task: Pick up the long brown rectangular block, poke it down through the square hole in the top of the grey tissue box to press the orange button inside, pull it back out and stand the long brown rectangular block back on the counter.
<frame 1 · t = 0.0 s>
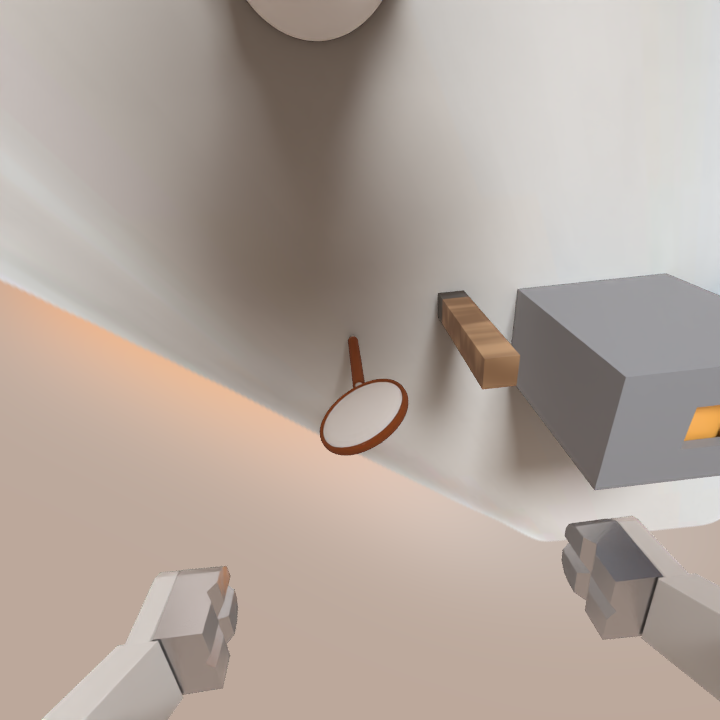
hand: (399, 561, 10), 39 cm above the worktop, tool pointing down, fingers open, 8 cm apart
button: (693, 410, 36), point 18 cm above the worktop, slide at 0.0 cm
magnifying glass: (352, 336, 50), on the worktop
long brown rectangular block: (450, 303, 49), on the worktop
grey tissue box: (583, 327, 52), on the worktop
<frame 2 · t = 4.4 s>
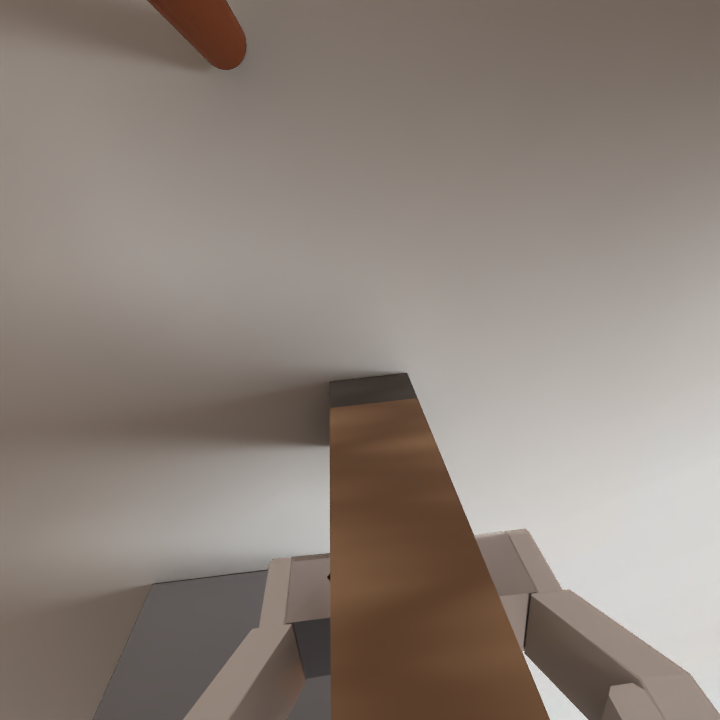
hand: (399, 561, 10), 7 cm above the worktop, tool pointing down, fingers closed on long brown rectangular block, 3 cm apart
magnifying glass: (233, 55, 12), on the worktop
long brown rectangular block: (371, 411, 16), on the worktop, touching gripper
grey tissue box: (307, 682, 23), on the worktop
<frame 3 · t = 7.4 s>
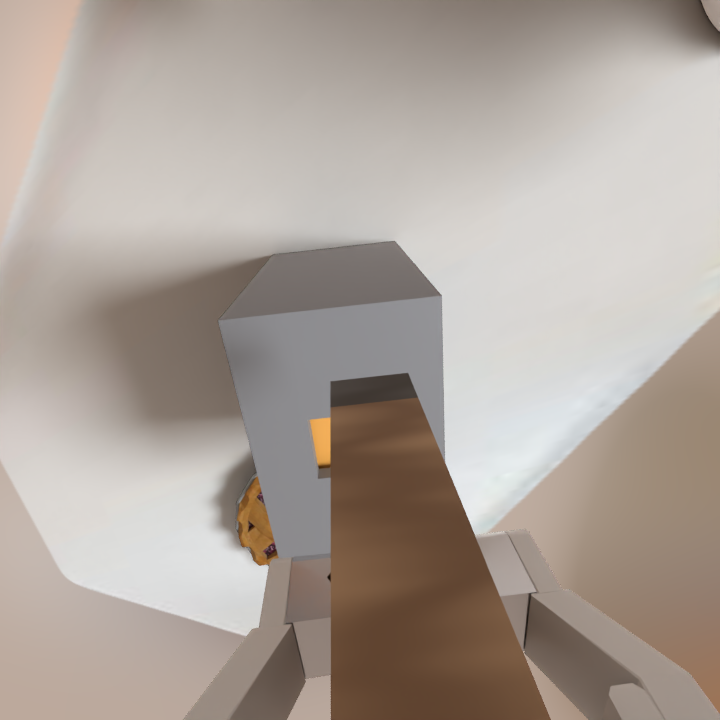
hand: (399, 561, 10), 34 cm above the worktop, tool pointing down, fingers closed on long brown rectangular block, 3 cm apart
button: (347, 426, 28), point 18 cm above the worktop, slide at 0.0 cm
long brown rectangular block: (372, 410, 16), point 27 cm above the worktop, touching gripper
pie: (326, 500, 54), on the worktop
grey tissue box: (344, 333, 44), on the worktop
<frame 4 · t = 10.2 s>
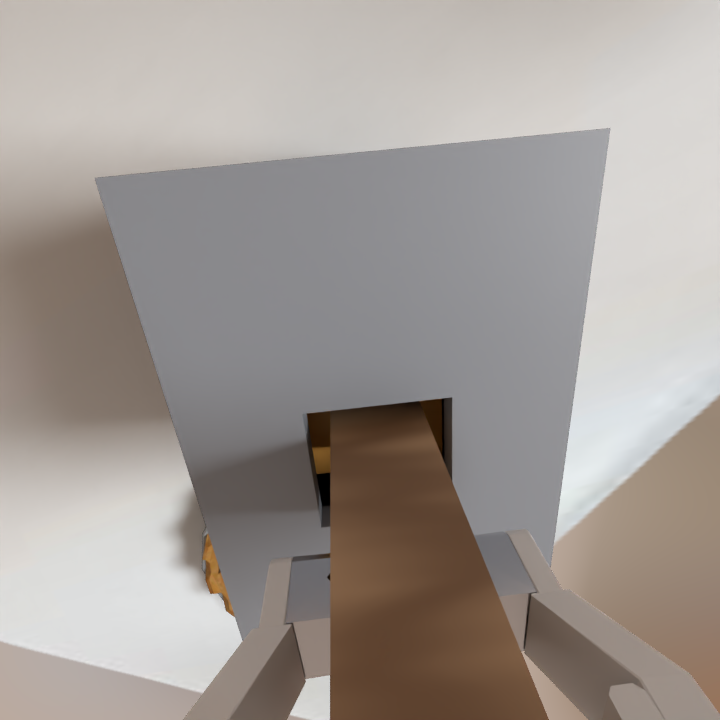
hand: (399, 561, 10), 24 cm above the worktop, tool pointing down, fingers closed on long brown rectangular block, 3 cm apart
button: (370, 401, 17), point 16 cm above the worktop, slide at 2.0 cm, touching long brown rectangular block
long brown rectangular block: (372, 411, 16), point 16 cm above the worktop, touching button, gripper
pie: (324, 528, 41), on the worktop
grey tissue box: (352, 300, 31), on the worktop
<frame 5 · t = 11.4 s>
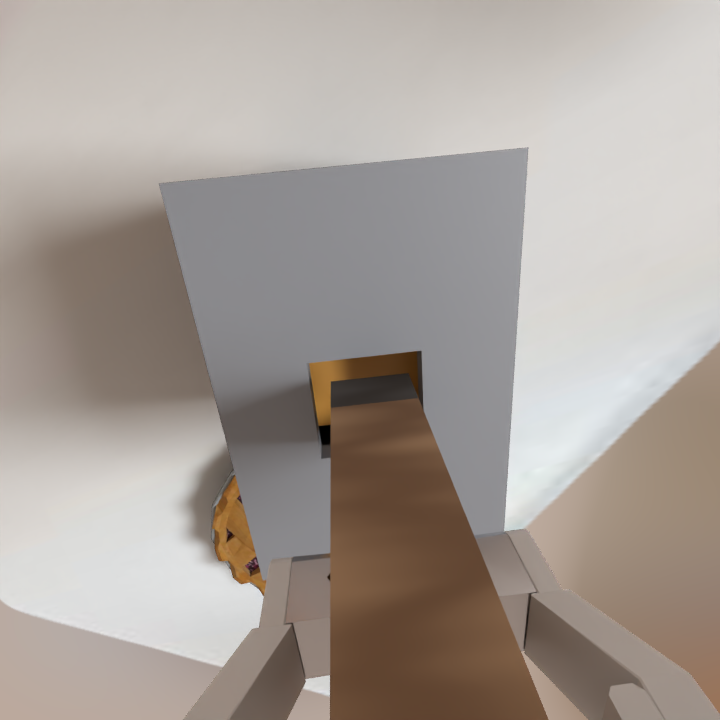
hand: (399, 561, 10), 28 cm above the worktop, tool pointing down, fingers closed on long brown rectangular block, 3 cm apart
button: (361, 365, 21), point 16 cm above the worktop, slide at 2.1 cm
long brown rectangular block: (372, 410, 16), point 20 cm above the worktop, touching gripper
pie: (323, 503, 45), on the worktop
grey tissue box: (347, 291, 35), on the worktop
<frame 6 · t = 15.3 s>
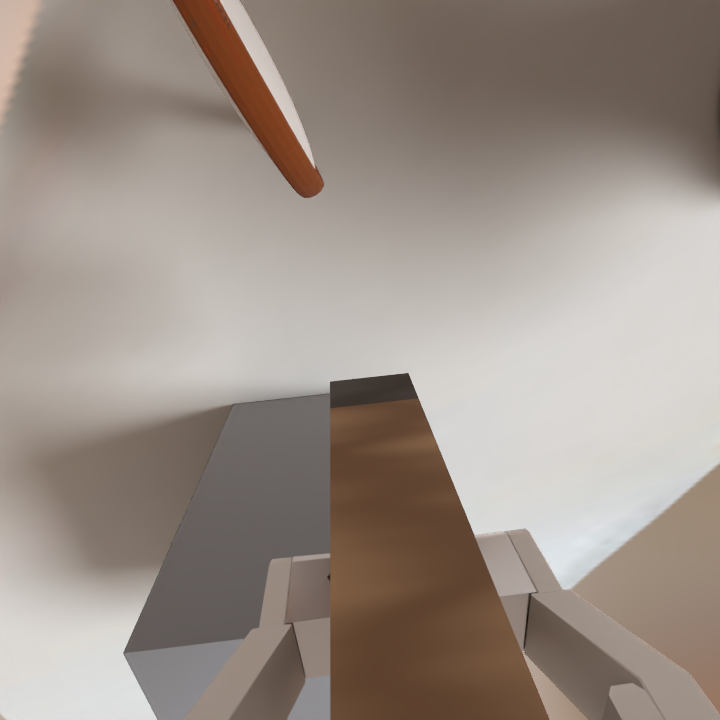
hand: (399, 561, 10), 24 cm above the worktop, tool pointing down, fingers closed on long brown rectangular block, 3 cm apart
magnifying glass: (290, 125, 27), on the worktop
long brown rectangular block: (372, 411, 16), point 17 cm above the worktop, touching gripper
grey tissue box: (318, 480, 38), on the worktop
when the fingers open (8 cm above the worktop, at t = 18.8 s): long brown rectangular block drops 1 cm, on the worktop.
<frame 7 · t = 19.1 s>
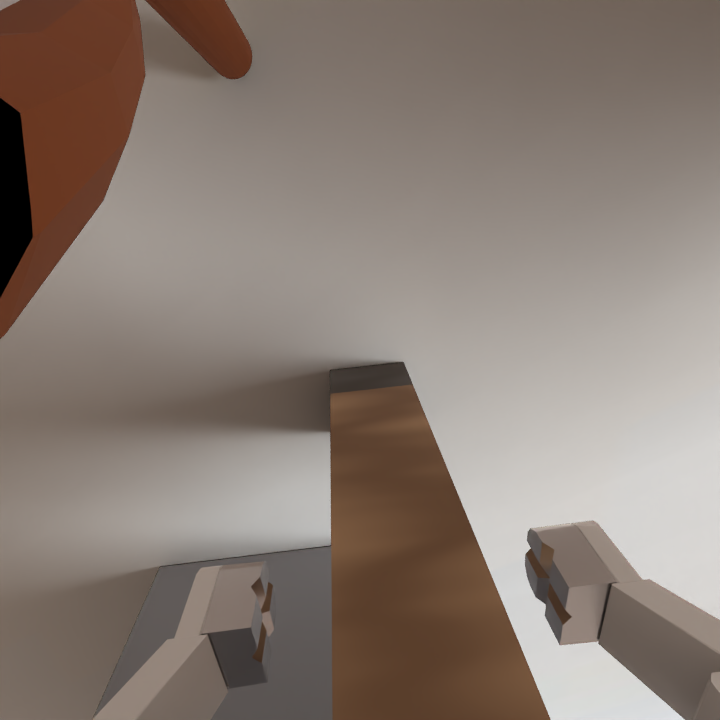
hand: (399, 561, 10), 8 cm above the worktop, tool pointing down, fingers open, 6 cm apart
magnifying glass: (239, 65, 13), on the worktop
long brown rectangular block: (369, 398, 17), on the worktop
grey tissue box: (307, 664, 24), on the worktop
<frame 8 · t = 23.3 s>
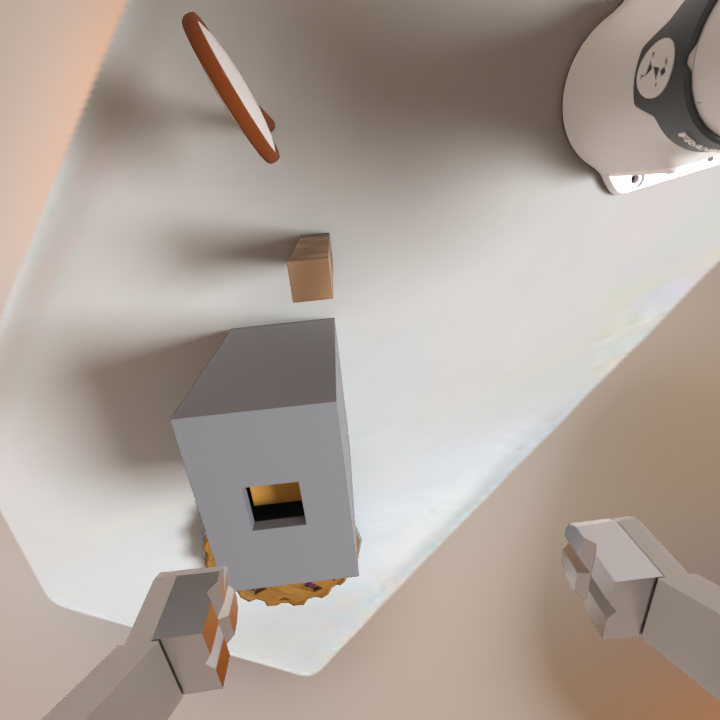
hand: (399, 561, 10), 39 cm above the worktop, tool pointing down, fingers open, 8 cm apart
button: (280, 472, 37), point 16 cm above the worktop, slide at 2.1 cm
magnifying glass: (270, 126, 40), on the worktop
long brown rectangular block: (317, 248, 45), on the worktop
pie: (285, 530, 61), on the worktop
grey tissue box: (294, 391, 51), on the worktop
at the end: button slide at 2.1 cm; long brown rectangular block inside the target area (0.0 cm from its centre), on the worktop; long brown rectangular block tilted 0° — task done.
